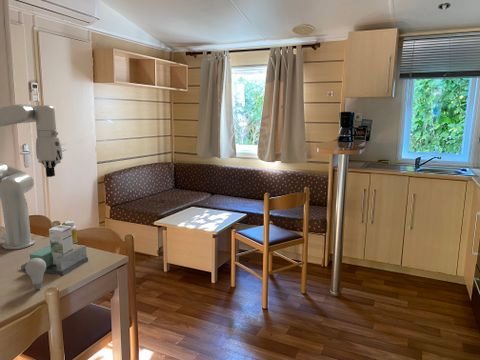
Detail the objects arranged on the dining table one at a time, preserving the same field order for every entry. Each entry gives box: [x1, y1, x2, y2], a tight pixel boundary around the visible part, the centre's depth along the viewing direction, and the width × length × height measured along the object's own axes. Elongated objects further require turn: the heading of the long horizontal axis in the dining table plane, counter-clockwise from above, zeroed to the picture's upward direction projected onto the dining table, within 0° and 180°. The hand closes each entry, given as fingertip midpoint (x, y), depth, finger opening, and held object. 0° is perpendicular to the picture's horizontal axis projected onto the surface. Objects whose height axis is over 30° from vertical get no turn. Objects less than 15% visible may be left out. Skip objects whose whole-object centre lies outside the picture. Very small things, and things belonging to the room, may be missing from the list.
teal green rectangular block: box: [29, 244, 52, 267], centre depth 143 cm, size 6×14×5 cm, turn 165°
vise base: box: [20, 244, 89, 276], centre depth 143 cm, size 19×14×6 cm
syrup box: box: [48, 224, 74, 265], centre depth 140 cm, size 6×6×14 cm
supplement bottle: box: [64, 220, 78, 244], centre depth 167 cm, size 5×5×10 cm
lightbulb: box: [25, 258, 46, 290], centre depth 123 cm, size 6×6×11 cm
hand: (50, 176), depth 161 cm, fingers closed
